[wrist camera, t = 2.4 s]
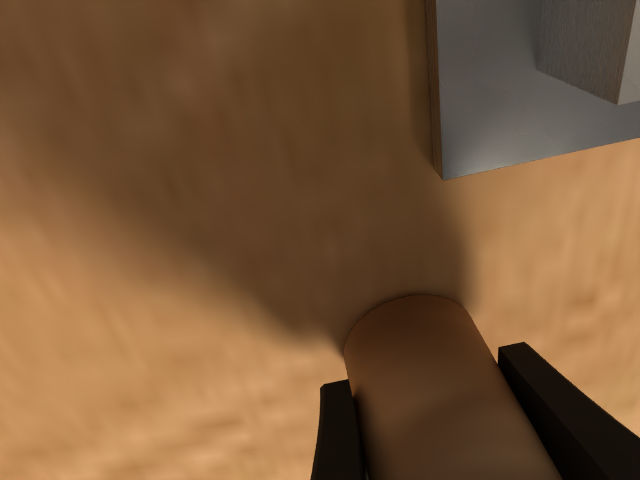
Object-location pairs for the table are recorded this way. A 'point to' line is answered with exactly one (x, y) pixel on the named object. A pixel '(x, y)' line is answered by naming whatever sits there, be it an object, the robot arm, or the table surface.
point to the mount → (529, 79)
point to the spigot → (436, 398)
